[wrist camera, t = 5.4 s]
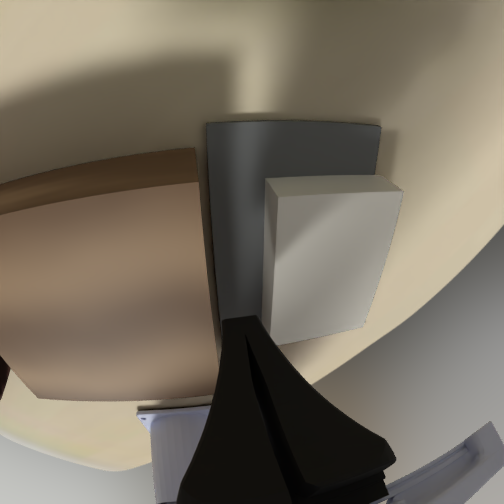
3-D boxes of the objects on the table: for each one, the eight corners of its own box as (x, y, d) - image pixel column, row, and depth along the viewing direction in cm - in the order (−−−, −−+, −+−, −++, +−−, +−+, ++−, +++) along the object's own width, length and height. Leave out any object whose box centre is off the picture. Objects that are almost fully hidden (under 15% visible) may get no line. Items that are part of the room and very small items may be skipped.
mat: (334, 328, 21) (336, 331, 20) (222, 347, 19) (223, 351, 19) (377, 125, 12) (381, 127, 12) (205, 123, 11) (206, 124, 11)
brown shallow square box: (214, 339, 19) (222, 393, 15) (49, 350, 17) (38, 398, 13) (194, 147, 12) (198, 182, 8) (-28, 193, 10) (-70, 235, 6)
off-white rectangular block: (269, 346, 16) (261, 321, 18) (362, 326, 17) (349, 305, 19) (278, 197, 11) (265, 178, 13) (404, 191, 12) (380, 174, 14)
